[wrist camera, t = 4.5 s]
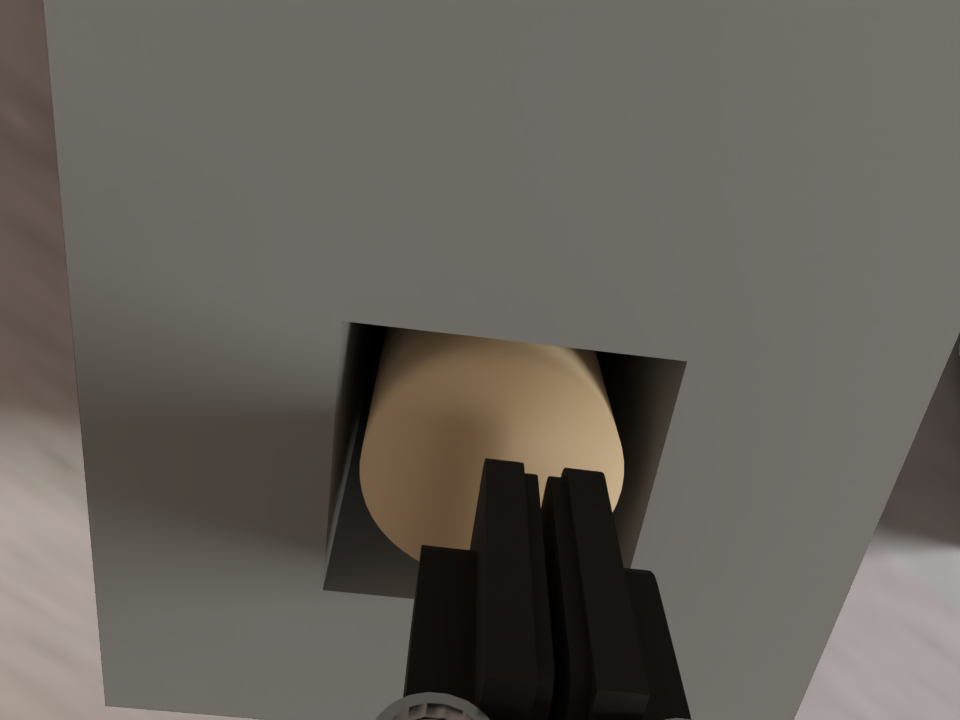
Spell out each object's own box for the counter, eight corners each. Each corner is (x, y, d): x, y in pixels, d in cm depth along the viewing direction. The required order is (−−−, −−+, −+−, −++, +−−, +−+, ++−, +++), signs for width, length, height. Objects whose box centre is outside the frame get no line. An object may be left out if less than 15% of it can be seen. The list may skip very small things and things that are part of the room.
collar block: (1035, -695, 13) (1694, -1387, 6) (683, 499, 23) (775, 762, 16) (218, -864, 12) (-125, -1891, 5) (221, 449, 22) (105, 705, 15)
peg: (591, 218, 19) (650, 376, 13) (558, 381, 21) (596, 589, 14) (404, 194, 19) (370, 344, 12) (388, 361, 20) (350, 565, 14)
